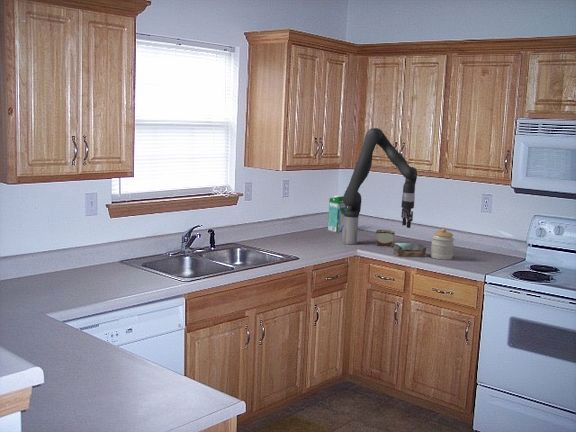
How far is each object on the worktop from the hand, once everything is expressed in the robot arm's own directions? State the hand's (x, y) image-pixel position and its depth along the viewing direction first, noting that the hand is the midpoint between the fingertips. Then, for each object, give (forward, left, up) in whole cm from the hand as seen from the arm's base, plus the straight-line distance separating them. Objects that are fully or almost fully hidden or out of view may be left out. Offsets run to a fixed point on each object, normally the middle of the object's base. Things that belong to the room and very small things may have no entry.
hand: (406, 226), depth 405 cm
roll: (0, +2, -13) cm, 13 cm away
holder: (0, -10, -15) cm, 18 cm away
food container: (-8, +16, -16) cm, 24 cm away
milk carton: (-28, +65, -16) cm, 73 cm away
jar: (+18, -15, -16) cm, 28 cm away
